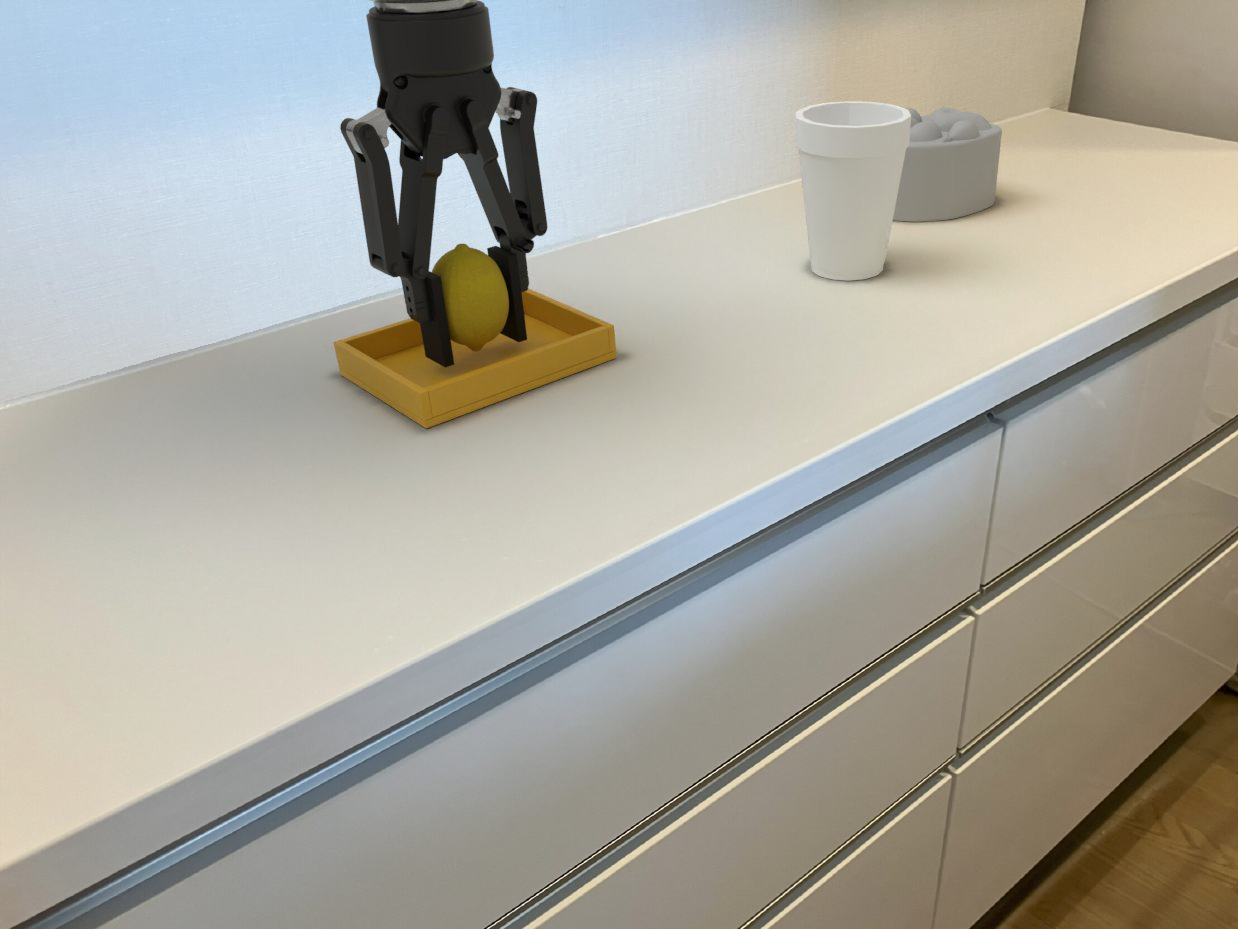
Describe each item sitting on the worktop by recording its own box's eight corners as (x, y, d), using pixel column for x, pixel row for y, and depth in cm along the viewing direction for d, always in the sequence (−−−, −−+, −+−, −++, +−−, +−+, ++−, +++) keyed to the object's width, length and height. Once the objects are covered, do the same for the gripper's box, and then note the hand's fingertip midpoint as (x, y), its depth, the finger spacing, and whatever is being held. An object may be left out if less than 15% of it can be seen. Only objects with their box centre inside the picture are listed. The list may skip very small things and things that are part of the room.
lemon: (484, 330, 87) (470, 226, 83) (529, 349, 84) (517, 242, 80) (423, 352, 84) (405, 245, 80) (467, 373, 81) (451, 263, 76)
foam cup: (808, 291, 96) (811, 131, 89) (781, 255, 104) (782, 105, 97) (916, 280, 97) (927, 122, 90) (881, 246, 105) (890, 98, 98)
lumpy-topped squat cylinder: (1008, 202, 116) (1018, 112, 111) (920, 229, 109) (927, 135, 104) (930, 181, 122) (937, 96, 118) (843, 206, 116) (847, 117, 111)
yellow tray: (426, 429, 76) (419, 393, 75) (340, 374, 84) (332, 341, 83) (616, 358, 85) (614, 325, 84) (523, 315, 93) (519, 284, 92)
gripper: (315, 27, 64) (389, 403, 76) (582, -11, 74) (608, 326, 87) (257, 14, 69) (336, 370, 81) (516, -20, 79) (550, 301, 91)
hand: (477, 347), depth 84 cm, fingers closed on lemon, 5 cm apart
